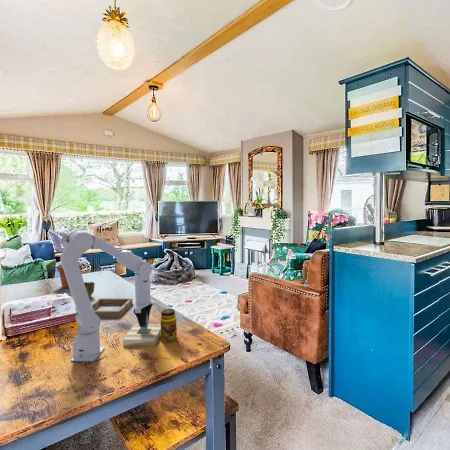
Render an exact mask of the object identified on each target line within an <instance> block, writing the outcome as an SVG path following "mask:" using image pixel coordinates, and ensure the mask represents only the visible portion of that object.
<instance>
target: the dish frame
mask: <svg viewBox="0 0 450 450" xmlns="http://www.w3.org/2000/svg"><path fill="white" fill-rule="evenodd" d="M133 303H134V302H133V298H132V297H131V298H129V297H128V298H126V297H124V298H123V297H122V298H110V297H108V298H107V297H106V298H105V297H104V298H101V297H100V298H98V299H97V300H95V301H94V302H93V303H91V305H92V307H93V309H94V311H95V314H96V315H97V316H98V317H99V318H100V319H103V318H104V319H106V318H107V319H119V318H120V319H121V317H122V316H123V315H124V314H125V313H126V311H128V310H129V308H131V306H132V305H133ZM102 305H103V306H116V305H117V306H121V307H120V308H119V309H117V310H97V309H98V308H99V307H100V306H102Z"/></svg>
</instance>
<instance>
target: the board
mask: <svg viewBox="0 0 450 450" xmlns="http://www.w3.org/2000/svg"><path fill="white" fill-rule="evenodd" d="M160 338H161V323H148V330H147V331H144V332H142V331H140V326H139V323H135V324H133V326H132V327H130V330H129V331H128V332H127V333H126V335H124V337H123V339H122V346H124V347H155V346H156V345H157V343H158V341H159V340H160Z"/></svg>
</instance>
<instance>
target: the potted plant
mask: <svg viewBox="0 0 450 450" xmlns="http://www.w3.org/2000/svg"><path fill="white" fill-rule="evenodd" d="M67 237H68V235H65V236H62V237H61V241H62V242H63V243H65V239H66V238H67ZM78 265H79V268H80V271H81V272H82V270H83V264H82V263H79V262H78ZM57 272H59V277H60V278H59V279H60V282H61V286H62V287H61V288H63V289H66V288H67V289H70V288H69V285H68V282H67V279H66V276H65V273H64V270H63V267H62V264H59V265H57Z"/></svg>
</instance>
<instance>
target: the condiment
mask: <svg viewBox="0 0 450 450" xmlns="http://www.w3.org/2000/svg"><path fill="white" fill-rule="evenodd" d="M160 314H161V316H160V324H161V335H160V339H161V342H162V343H165V344H169V343H173V342H176V340H177V338H178V337H177V336H178V334H177V333H178V331H177V326H178V325H177V317H176V310H174V309H173V308H166V309H163V310H162V311H161V312H160Z"/></svg>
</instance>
